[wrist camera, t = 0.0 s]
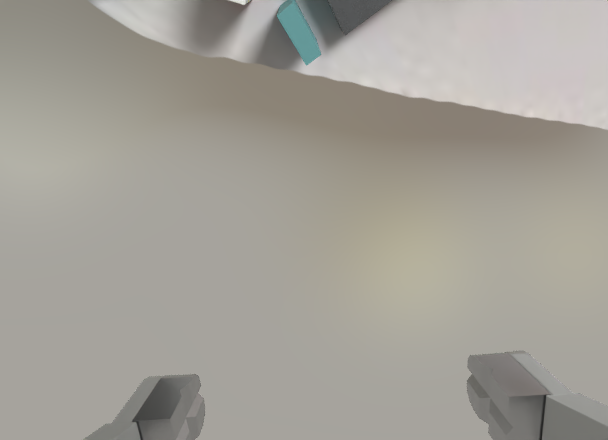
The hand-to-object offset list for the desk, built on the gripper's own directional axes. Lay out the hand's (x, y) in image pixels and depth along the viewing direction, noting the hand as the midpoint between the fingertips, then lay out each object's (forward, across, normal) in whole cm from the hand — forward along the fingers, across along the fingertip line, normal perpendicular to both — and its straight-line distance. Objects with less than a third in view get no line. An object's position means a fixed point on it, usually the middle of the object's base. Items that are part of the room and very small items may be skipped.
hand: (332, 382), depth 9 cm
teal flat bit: (+46, 0, -28) cm, 54 cm away
